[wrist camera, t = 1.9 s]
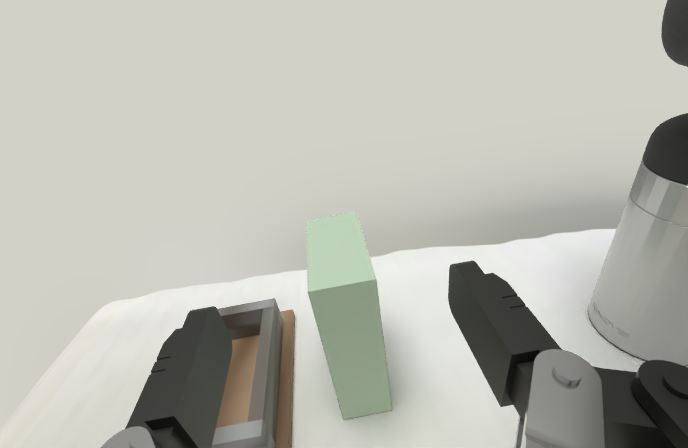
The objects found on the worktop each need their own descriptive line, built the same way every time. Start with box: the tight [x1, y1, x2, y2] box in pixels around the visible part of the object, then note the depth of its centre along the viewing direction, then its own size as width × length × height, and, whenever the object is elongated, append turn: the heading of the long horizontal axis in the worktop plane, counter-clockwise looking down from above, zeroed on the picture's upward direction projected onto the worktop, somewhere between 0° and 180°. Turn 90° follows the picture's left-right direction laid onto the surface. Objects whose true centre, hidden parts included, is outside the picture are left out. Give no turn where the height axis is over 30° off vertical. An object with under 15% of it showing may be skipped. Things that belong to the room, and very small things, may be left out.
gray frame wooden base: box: [184, 298, 295, 448], centre depth 32 cm, size 12×18×5 cm, turn 6°
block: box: [306, 212, 392, 420], centre depth 29 cm, size 4×9×16 cm, turn 7°
